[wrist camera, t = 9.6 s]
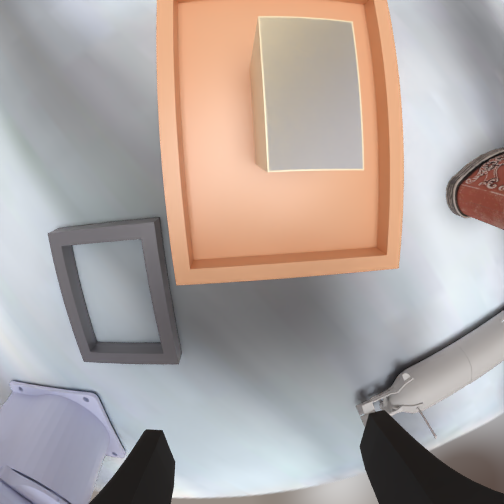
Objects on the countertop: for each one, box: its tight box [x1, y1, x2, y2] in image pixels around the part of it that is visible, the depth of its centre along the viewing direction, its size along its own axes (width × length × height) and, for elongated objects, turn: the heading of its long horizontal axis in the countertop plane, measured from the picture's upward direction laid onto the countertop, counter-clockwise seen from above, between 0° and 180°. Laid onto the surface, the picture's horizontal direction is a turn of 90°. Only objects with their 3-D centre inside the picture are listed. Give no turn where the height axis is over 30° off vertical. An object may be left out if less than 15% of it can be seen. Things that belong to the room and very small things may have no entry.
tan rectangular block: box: [250, 16, 364, 172], centre depth 12 cm, size 3×5×6 cm, turn 3°
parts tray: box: [156, 0, 404, 285], centre depth 14 cm, size 12×16×2 cm
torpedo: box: [356, 310, 504, 439], centre depth 18 cm, size 18×5×6 cm, turn 114°
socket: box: [48, 217, 182, 364], centre depth 17 cm, size 7×9×1 cm
